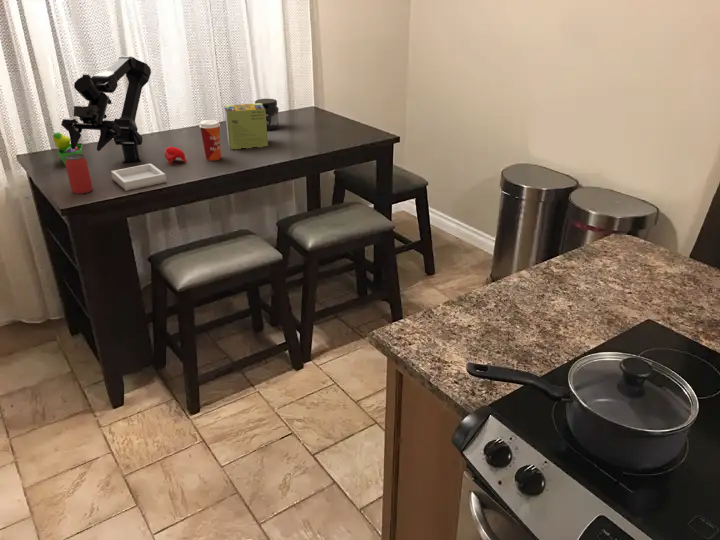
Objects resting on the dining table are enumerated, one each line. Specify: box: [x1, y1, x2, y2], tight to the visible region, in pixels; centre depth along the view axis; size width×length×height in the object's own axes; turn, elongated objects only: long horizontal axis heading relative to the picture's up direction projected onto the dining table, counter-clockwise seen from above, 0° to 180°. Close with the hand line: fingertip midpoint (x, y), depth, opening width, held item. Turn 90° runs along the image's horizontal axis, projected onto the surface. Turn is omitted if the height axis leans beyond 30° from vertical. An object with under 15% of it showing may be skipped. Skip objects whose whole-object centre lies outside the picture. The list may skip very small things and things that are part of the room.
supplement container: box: [254, 98, 280, 131], centre depth 268 cm, size 10×10×12 cm
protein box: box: [223, 102, 269, 151], centre depth 245 cm, size 10×15×16 cm
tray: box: [110, 162, 167, 192], centre depth 211 cm, size 14×14×3 cm
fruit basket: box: [52, 131, 83, 166], centre depth 227 cm, size 11×9×11 cm
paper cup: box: [199, 119, 222, 161], centre depth 230 cm, size 8×8×14 cm
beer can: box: [65, 154, 94, 195], centre depth 200 cm, size 7×7×12 cm
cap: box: [164, 146, 187, 166], centre depth 228 cm, size 8×6×6 cm
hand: (85, 149), depth 202 cm, fingers open, 9 cm apart
